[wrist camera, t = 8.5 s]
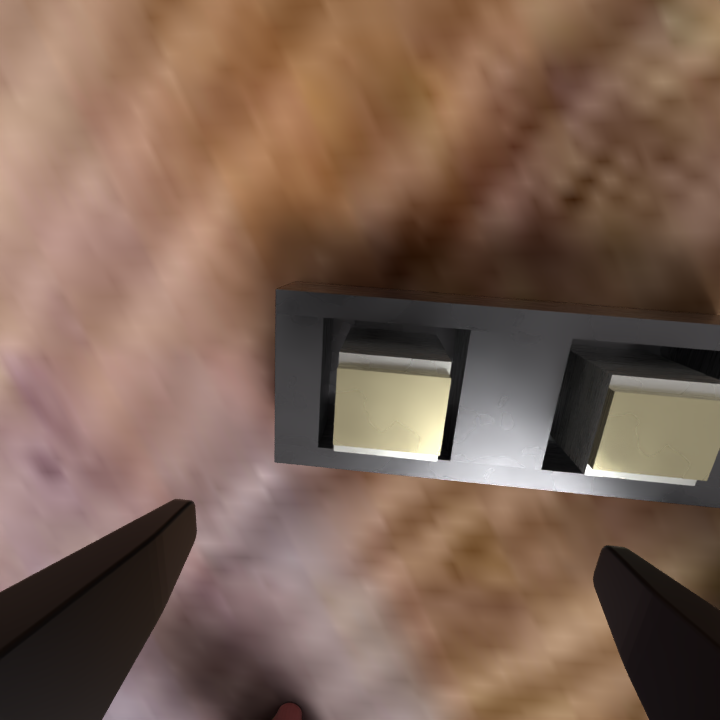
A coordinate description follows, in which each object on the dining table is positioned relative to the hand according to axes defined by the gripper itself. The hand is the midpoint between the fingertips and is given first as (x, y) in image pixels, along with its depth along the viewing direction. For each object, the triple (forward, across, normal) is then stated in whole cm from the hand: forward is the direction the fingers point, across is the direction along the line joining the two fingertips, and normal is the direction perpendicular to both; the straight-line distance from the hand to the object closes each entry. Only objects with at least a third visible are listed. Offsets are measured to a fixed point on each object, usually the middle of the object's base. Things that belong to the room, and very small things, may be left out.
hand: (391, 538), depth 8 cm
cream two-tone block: (+11, 0, 0) cm, 11 cm away
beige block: (+11, -10, 0) cm, 15 cm away
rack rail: (+12, -5, 0) cm, 13 cm away
